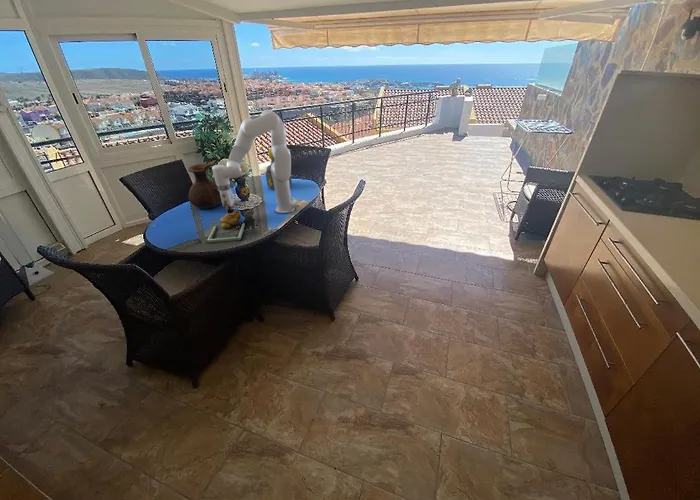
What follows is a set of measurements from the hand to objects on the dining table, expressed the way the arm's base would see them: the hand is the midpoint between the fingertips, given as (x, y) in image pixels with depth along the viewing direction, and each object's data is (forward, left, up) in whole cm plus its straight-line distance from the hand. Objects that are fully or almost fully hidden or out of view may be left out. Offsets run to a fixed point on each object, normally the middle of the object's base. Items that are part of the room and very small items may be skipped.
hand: (231, 214), depth 181 cm
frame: (0, +17, -3) cm, 18 cm away
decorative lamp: (-26, -53, -4) cm, 59 cm away
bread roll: (0, +7, -4) cm, 8 cm away
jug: (+20, -26, -4) cm, 33 cm away
